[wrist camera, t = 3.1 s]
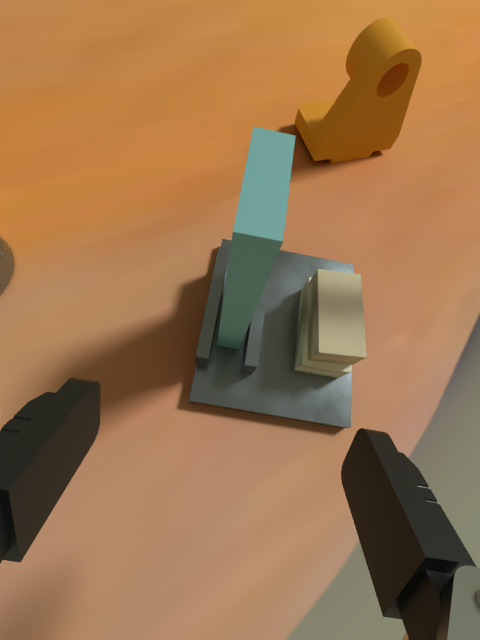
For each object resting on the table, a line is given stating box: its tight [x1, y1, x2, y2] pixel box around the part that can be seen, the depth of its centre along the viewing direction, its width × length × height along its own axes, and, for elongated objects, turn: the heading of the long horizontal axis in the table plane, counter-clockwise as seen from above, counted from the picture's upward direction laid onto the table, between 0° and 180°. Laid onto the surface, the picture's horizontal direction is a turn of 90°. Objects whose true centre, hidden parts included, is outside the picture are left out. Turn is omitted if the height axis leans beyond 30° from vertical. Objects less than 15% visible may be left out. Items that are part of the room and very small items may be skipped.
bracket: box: [295, 17, 421, 163], centre depth 34 cm, size 11×7×12 cm, turn 108°
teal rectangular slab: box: [217, 127, 295, 349], centre depth 21 cm, size 6×2×16 cm, turn 171°
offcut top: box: [308, 269, 366, 365], centre depth 25 cm, size 7×4×2 cm, turn 175°
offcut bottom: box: [294, 277, 351, 378], centre depth 27 cm, size 8×4×2 cm, turn 171°
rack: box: [189, 239, 353, 428], centre depth 27 cm, size 16×14×4 cm
